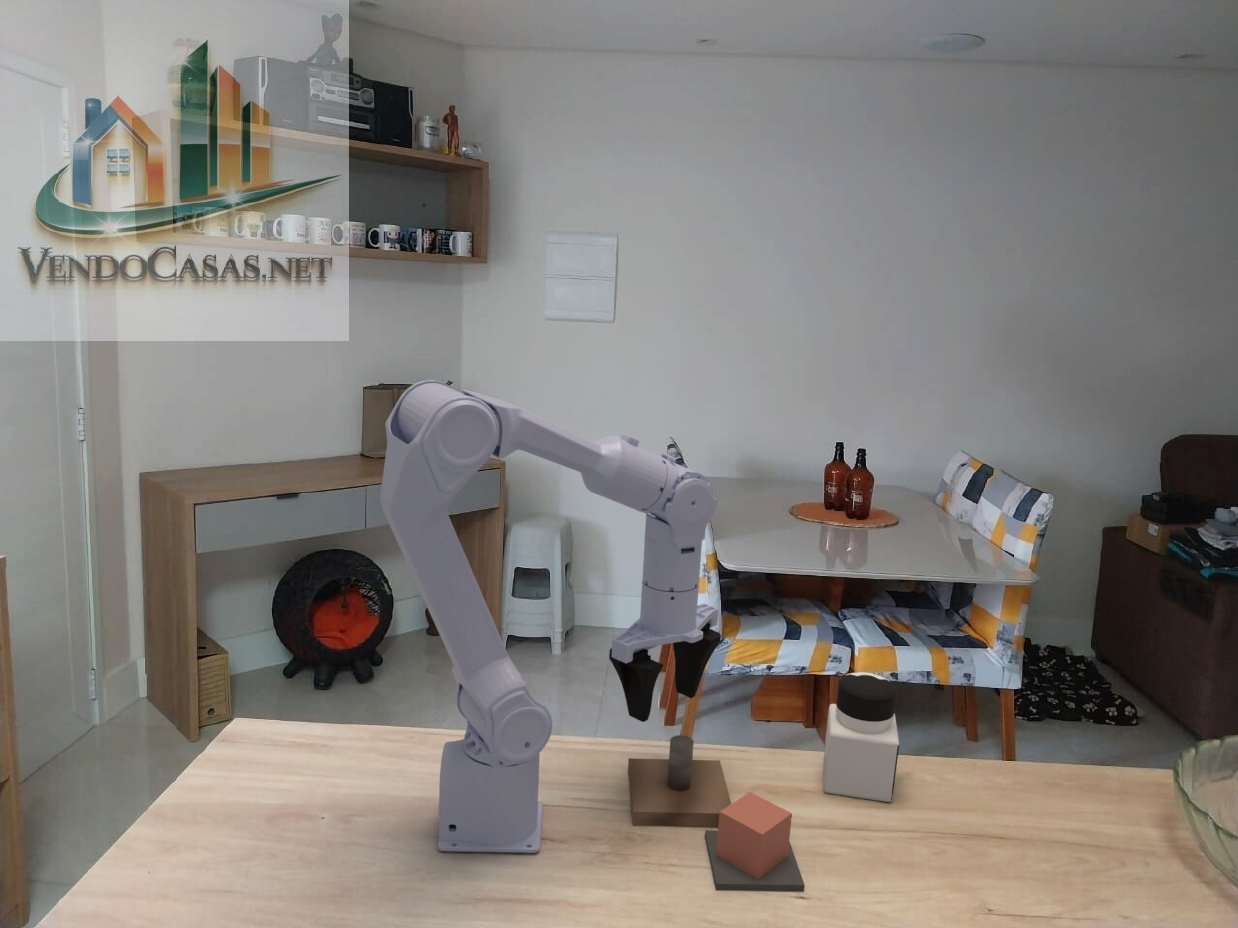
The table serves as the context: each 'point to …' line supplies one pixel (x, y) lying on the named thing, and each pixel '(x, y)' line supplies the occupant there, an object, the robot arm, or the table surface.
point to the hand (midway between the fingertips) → (662, 705)
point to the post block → (677, 788)
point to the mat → (736, 879)
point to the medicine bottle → (862, 739)
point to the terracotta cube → (753, 834)
